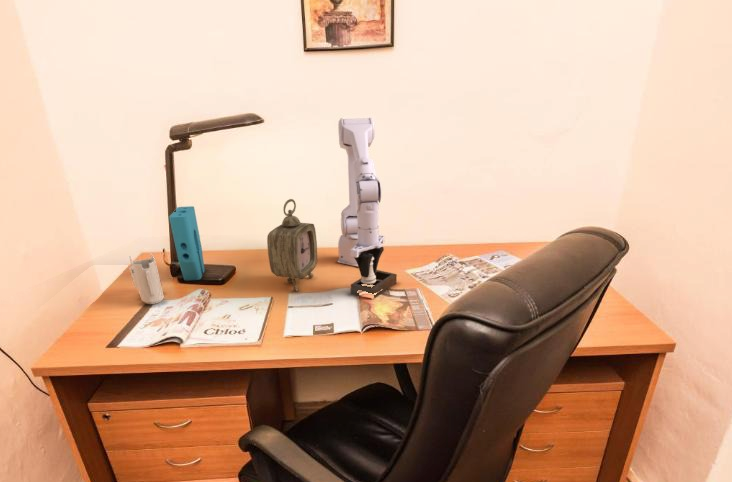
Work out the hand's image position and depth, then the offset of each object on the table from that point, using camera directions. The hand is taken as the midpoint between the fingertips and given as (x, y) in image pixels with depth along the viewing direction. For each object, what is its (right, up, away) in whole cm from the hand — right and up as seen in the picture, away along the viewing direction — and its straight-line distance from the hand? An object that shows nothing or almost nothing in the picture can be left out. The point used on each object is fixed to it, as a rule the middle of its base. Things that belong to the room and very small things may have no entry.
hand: (368, 274), depth 137 cm
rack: (+2, -4, +5) cm, 6 cm away
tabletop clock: (-22, -2, +9) cm, 24 cm away
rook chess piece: (0, -2, +1) cm, 3 cm away
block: (-55, +2, +16) cm, 57 cm away
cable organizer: (-62, -7, +2) cm, 62 cm away
